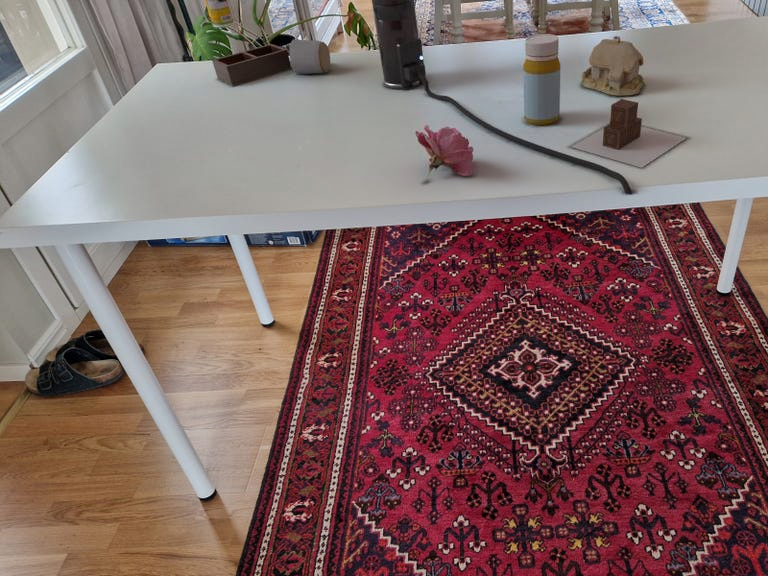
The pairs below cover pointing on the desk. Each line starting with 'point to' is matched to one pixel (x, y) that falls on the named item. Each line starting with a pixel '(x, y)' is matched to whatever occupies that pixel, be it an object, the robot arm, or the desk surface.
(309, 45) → the ceramic mug
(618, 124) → the stack of crates
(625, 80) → the ceramic model
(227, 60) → the compartment organizer
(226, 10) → the supplement bottle
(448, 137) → the flower
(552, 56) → the bottle
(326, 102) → the desk surface
